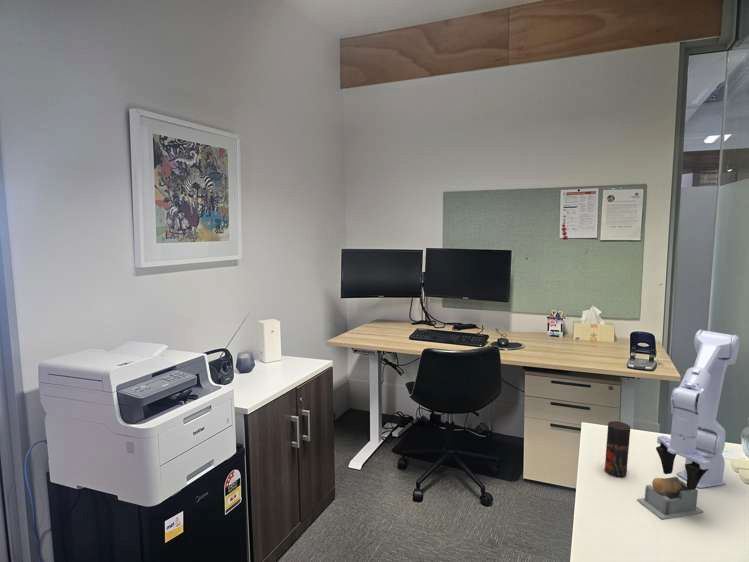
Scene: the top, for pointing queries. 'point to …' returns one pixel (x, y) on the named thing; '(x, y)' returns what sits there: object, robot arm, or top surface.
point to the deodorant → (617, 449)
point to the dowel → (667, 485)
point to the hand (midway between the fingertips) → (679, 480)
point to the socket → (671, 502)
